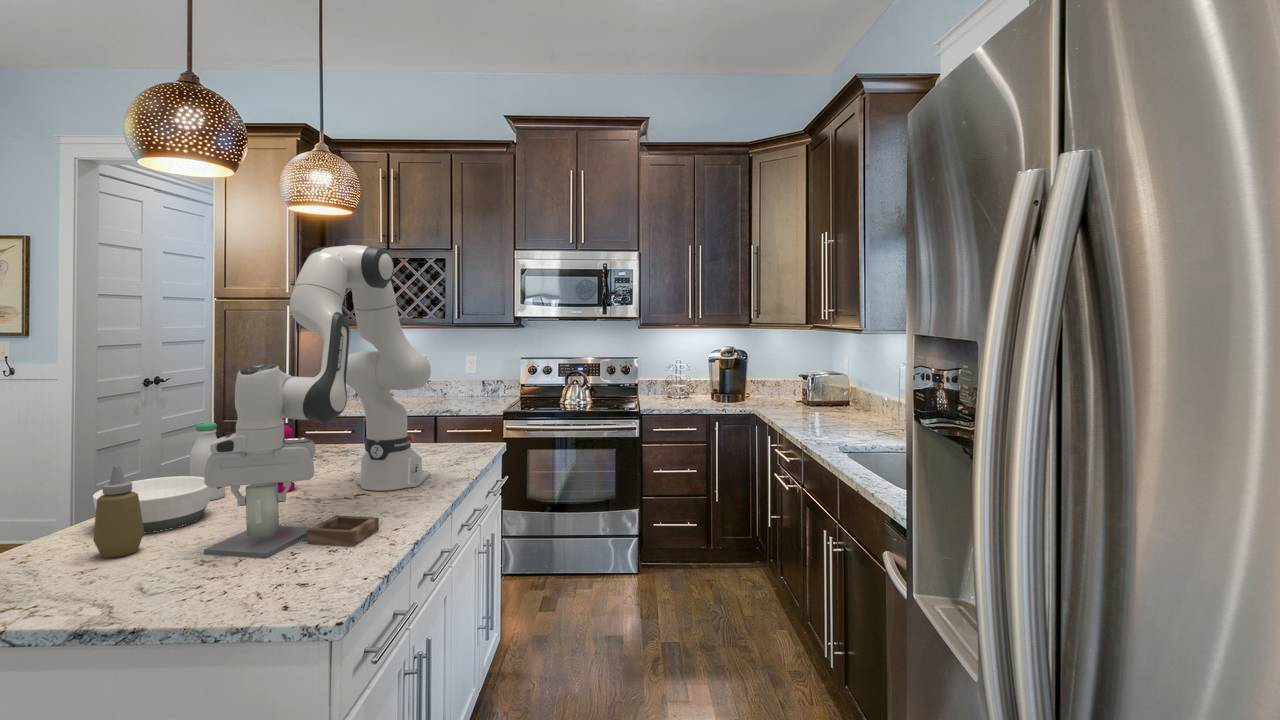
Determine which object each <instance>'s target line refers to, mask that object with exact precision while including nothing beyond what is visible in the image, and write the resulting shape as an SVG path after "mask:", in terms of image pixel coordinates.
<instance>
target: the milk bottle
mask: <svg viewBox="0 0 1280 720" xmlns="http://www.w3.org/2000/svg"><path fill="white" fill-rule="evenodd" d="M217 426H218V425H217V423H215V422H203V423H197V424H196V425H195V433H196V439H195V442H194V444H193V446H192V448H191V451H190V453H189V476H195V477H204V474H205V466H206V461H207V459H208V457H209V456H210V455H211V454H212V453H211V451H210V445H211V444H212V443H213V442H214V441H215V440H217V439H218V438H217V433H216V432H217V430H218V428H217ZM225 495H226V487H214V488H212V495H211V498H210V500H209V501H215V500H218V499H219V500H220V499H222V498H224V497H225Z"/></svg>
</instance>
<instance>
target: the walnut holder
mask: <svg viewBox="0 0 1280 720" xmlns="http://www.w3.org/2000/svg"><path fill="white" fill-rule="evenodd" d="M379 523H380V522H379V517H375V516H356V515H355V516H354V515H334V516H332V517H330V518H328V519H326V520H324V521H321V522H320V523H318V524H316V525H314V526H312V527H311V528H310V529H308V530H307V537H306V544H307V543H309V544H308V545H319V544H321V545H323V546H341V547H354V545H355V546H357V545H358V544H359V543H361V542H363V541H365V540H366V539H368V538H369V537H371V536H372V535H374V534H376V533H377V532H378V530H380V525H379ZM376 531H377V532H376ZM375 532H376V533H375ZM373 533H374V534H373ZM370 535H371V536H370ZM362 540H363V541H362ZM357 543H358V544H357ZM321 545H320V546H321Z"/></svg>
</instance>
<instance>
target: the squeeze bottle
mask: <svg viewBox="0 0 1280 720" xmlns="http://www.w3.org/2000/svg"><path fill="white" fill-rule="evenodd" d="M121 466H122V465H114V466H112V468H111V469H112V470H111V475H110V478H109V482H108V483H106V484H103V485H102V489H103V494H105V495H102V496H100V497H99V498H98V499H97V506H96V510H95V519H94V528H93V529H94V530H93V543H94V544H95V547H96V548H97V550H98V552H99V554H100V556H101V557H103V558H118V557H124V556H128V555H131V554H133V553H136V552H138V550H139V548H140V545H141V542H142V539H143V536H144V534H145V533H144V527H143V521H142V515H141V509H140V503H139V497H138V494H137V493H135V492H133V491H132V481H126V479H125V475H124V473H123V469H122V467H121Z"/></svg>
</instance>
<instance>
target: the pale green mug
mask: <svg viewBox="0 0 1280 720" xmlns="http://www.w3.org/2000/svg"><path fill="white" fill-rule="evenodd" d="M244 491H245V496H246V506H245V515H246V516H245V517H246V519H245V520H246V521H245V522H246V525H245V528H246V530H247V535H248V536H265V535H270V534H273V533H276V532H277V531H279V526H280V520H279V518H280V515H279V503H278V498H277V495H278V484H277V483H265V484H252V485H245V490H244Z"/></svg>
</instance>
